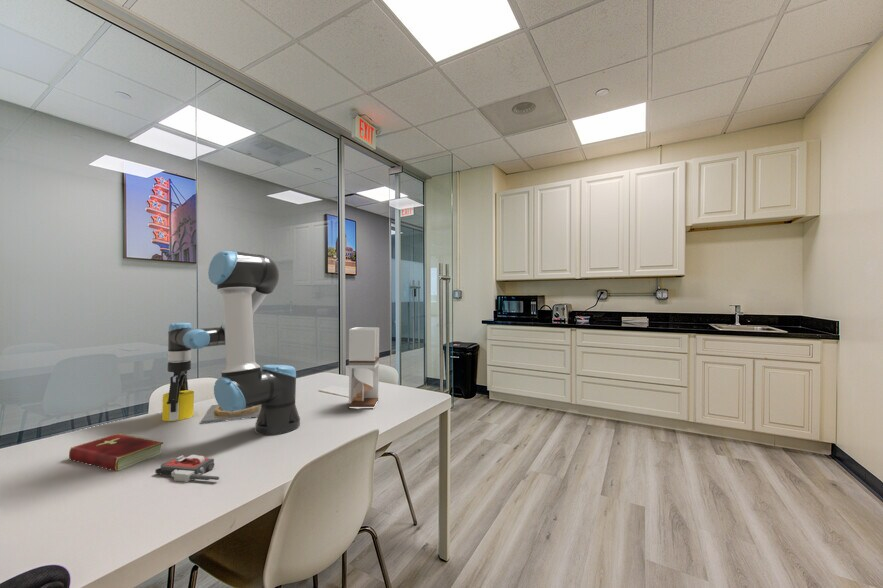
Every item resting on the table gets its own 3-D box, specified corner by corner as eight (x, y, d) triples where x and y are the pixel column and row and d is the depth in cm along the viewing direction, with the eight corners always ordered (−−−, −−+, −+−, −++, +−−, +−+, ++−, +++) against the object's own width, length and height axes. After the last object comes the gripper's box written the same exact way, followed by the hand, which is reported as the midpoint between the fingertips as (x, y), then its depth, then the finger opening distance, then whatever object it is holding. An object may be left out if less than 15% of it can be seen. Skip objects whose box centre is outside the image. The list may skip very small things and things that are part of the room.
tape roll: (198, 412, 145) (198, 389, 146) (184, 420, 136) (185, 396, 136) (171, 413, 144) (172, 390, 144) (156, 421, 134) (156, 397, 134)
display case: (348, 408, 152) (349, 329, 153) (353, 401, 163) (355, 327, 163) (374, 409, 152) (375, 329, 153) (378, 402, 163) (379, 327, 164)
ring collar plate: (265, 416, 141) (265, 410, 141) (200, 423, 132) (200, 417, 132) (267, 401, 161) (267, 396, 161) (211, 407, 152) (211, 401, 152)
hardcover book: (116, 473, 95) (116, 457, 95) (68, 461, 102) (69, 447, 102) (162, 455, 107) (163, 441, 107) (117, 445, 113) (118, 432, 113)
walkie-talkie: (146, 480, 92) (215, 486, 89) (147, 463, 92) (215, 468, 89) (176, 464, 100) (239, 469, 98) (176, 449, 100) (239, 453, 98)
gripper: (176, 356, 149) (175, 407, 149) (158, 366, 128) (156, 426, 127) (197, 356, 152) (196, 405, 152) (182, 365, 131) (181, 423, 130)
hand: (178, 415), depth 140 cm, fingers open, 11 cm apart
